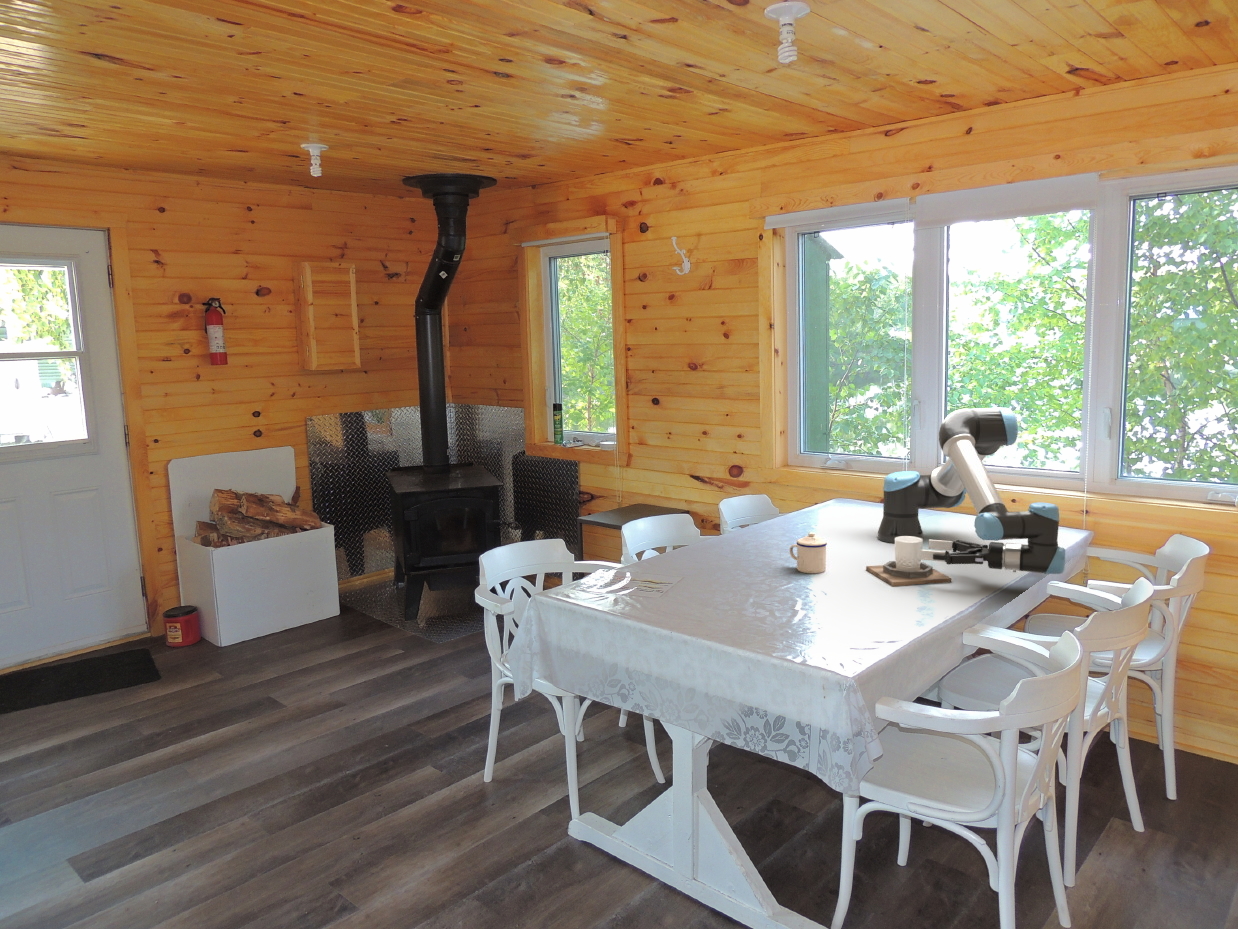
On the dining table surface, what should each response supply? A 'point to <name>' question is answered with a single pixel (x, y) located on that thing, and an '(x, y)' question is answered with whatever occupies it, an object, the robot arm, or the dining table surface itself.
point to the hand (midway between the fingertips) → (925, 549)
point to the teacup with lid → (810, 554)
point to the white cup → (908, 553)
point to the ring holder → (907, 574)
